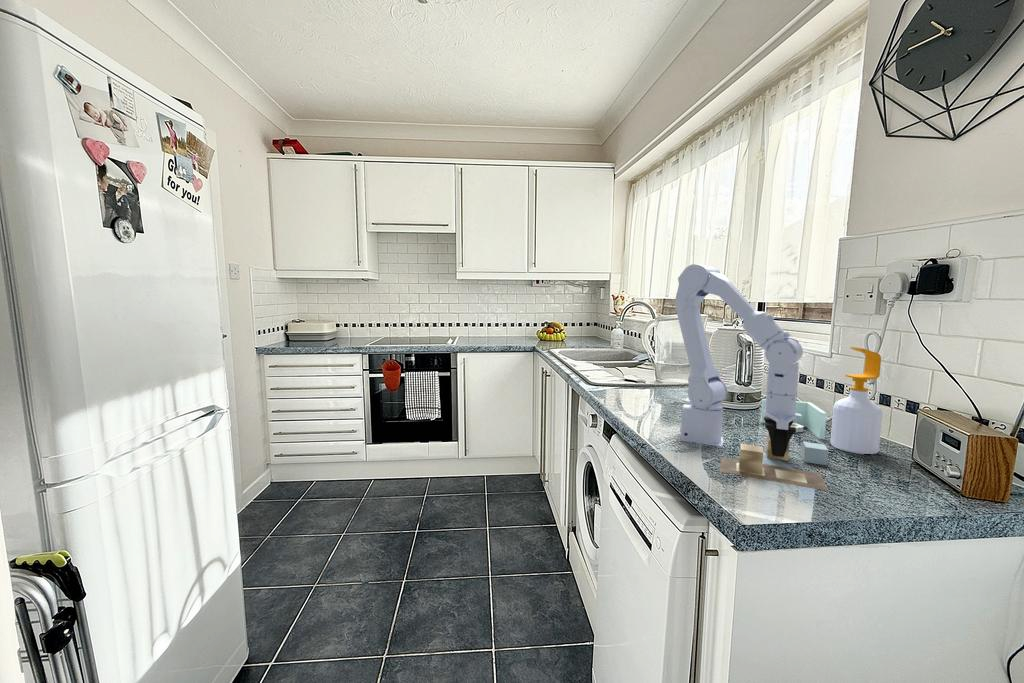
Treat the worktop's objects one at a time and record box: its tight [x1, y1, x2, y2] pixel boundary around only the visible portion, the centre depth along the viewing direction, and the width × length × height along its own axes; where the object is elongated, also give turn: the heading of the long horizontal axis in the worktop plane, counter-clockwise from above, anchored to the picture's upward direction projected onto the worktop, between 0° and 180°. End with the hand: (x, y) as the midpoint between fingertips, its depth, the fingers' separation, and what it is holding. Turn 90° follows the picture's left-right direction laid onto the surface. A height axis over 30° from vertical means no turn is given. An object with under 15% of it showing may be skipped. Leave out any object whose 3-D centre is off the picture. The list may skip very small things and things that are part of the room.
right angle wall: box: [760, 398, 827, 440], centre depth 116 cm, size 12×12×8 cm
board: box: [719, 457, 829, 492], centre depth 86 cm, size 18×9×1 cm, turn 62°
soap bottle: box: [830, 346, 883, 455], centre depth 101 cm, size 9×9×25 cm
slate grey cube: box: [801, 441, 829, 466], centre depth 92 cm, size 4×4×4 cm
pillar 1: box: [738, 443, 764, 474], centre depth 87 cm, size 4×4×4 cm
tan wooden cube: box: [765, 434, 790, 462], centre depth 95 cm, size 4×4×4 cm
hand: (777, 452), depth 95 cm, fingers closed on tan wooden cube, 4 cm apart
